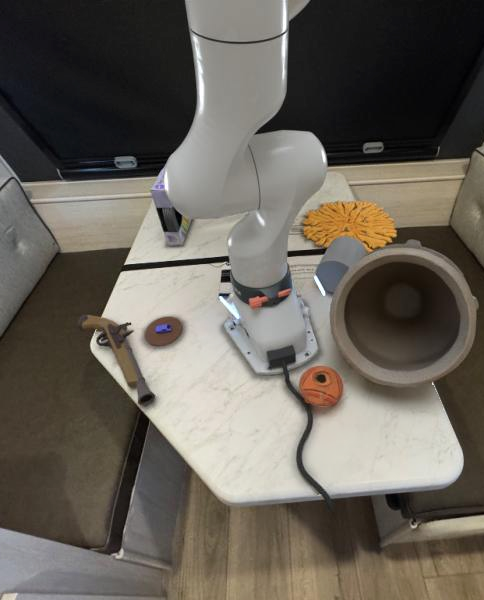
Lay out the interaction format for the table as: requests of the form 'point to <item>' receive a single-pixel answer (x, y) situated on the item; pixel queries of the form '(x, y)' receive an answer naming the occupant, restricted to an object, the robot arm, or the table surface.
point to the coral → (350, 224)
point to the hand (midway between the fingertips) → (215, 51)
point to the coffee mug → (338, 261)
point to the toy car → (163, 331)
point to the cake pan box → (169, 214)
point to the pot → (321, 386)
